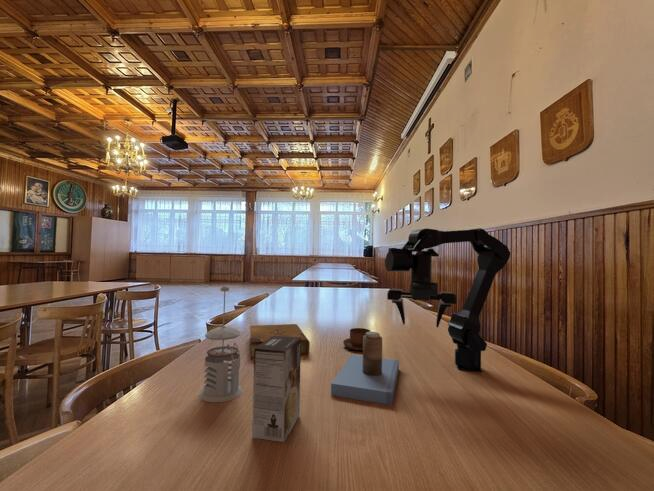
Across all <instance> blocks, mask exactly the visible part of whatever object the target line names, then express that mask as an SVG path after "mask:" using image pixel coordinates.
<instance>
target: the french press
mask: <svg viewBox="0 0 654 491" xmlns="http://www.w3.org/2000/svg"><path fill="white" fill-rule="evenodd" d="M229 291H230V288H229V287H228V286H226V285H224V286H223V285H222V286H221V287H220V292H223V318H222V319H223V320H222V321H223V322H222V324H223V325H221V326H217V327H215V328H213V329H210V330H209V331H207V332H206V333H205V335H204V337H205V338H206V339H207V340H211V341H222V345H221V346H216V347H212V348H210V349H208V350H207V351H206V355H207V356H205V357H204V373H205V375H204V376H203V378H204V379H205V380H204V381H203V384H204V385H203V389H202V390H201V391H200V392H199V394H198V396H199V399H200V400H202V401H204V402H208V403H223V402H228V401H231V400H234V399H236V398H238V397H240V395H241V394H243V390H244V389H243V387H242V386H241V385H240V384H239V380H240V366H241V355H240V349H239V345H237V343H236V342H234V343H233V346H230V344H229V343H228V344H226V345H225V343H224V342H225V341H227V340H233V339H236V338H238V337H240V335H241V334H242V331H240V330H239V329H237V328H236V327H232V326H227V325H225V313H226V311H225V310H226V292H229ZM224 345H225V346H224ZM224 361H225V362H224ZM229 362H231V363H229ZM206 367H207V368H206ZM229 367H230V368H229ZM229 377H230V378H229Z"/></svg>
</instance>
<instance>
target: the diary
mask: <svg viewBox="0 0 654 491" xmlns="http://www.w3.org/2000/svg"><path fill="white" fill-rule="evenodd" d="M249 326H250V328H249V330H250V331H249V332H250V338H249V346H250V347H249V348H250V349H249V352H250V353H249V354H250V360H254V348H256V347H257V346H259V345H260V344H262V343H263V342H265V341H266V340H267V339H269V338H270V337H272V336H286V337H301V357H308V356H309V355H310V345H311V344H310V343H311V342H310V340H309V339H308V338H307V336H306V335H305V333H304V332H303V331H302V329H301V328H300V326H299V325H298V323H291V324H290V323H288V324H285V323H284V324H264V325H263V324H262V325H261V324H260V325H257V324H256V325H255V324H254V325H249Z"/></svg>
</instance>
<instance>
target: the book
mask: <svg viewBox="0 0 654 491" xmlns="http://www.w3.org/2000/svg"><path fill="white" fill-rule="evenodd" d="M399 366H400V360H399V359H394V358H393V359H392V358H383V357H382V374H381V375H378V376H369V375H366V374H364V373H363V355H360V354H351V355H350V356H349V358H347V360H346V362H345V363H344V365H343V366H342V368H341V369H340V370H339V371H338V373H337V374H336V376H335V377H334V378H333V380H332V381H331V383H330V389H331V390H330V395H331V396H336V397H341V398H346V399H347V398H348V399H353V400H359V401H364V402H371V403H378V404H382V405H389V406H392V405H393V401H394V395H395V390H396V385H397V379H398V376H399V371H400V369H399V368H400V367H399Z"/></svg>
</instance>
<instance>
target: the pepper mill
mask: <svg viewBox="0 0 654 491" xmlns="http://www.w3.org/2000/svg"><path fill="white" fill-rule="evenodd" d="M380 335H381V333H379V332H378V331H370V332H366V335H365V336H363V350H362V356H363V373H364V374H366V375H369V376H378V375H381V374H382V358H383V337H382V336H380Z"/></svg>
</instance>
